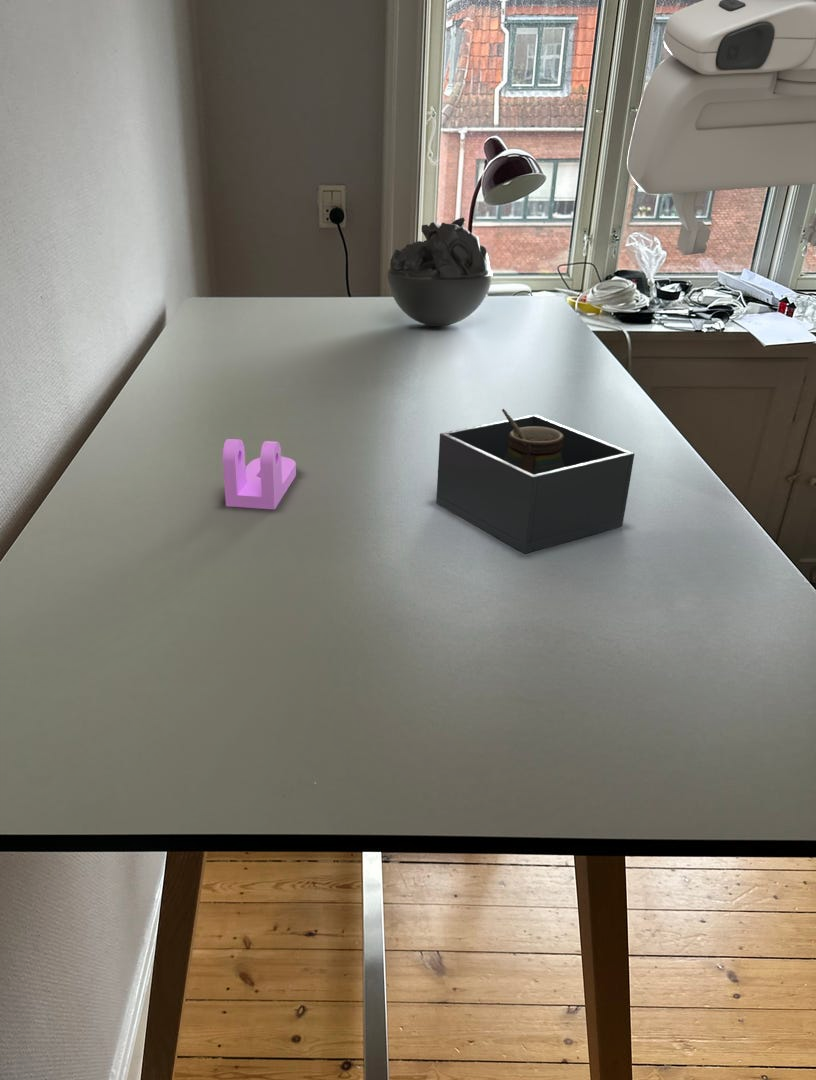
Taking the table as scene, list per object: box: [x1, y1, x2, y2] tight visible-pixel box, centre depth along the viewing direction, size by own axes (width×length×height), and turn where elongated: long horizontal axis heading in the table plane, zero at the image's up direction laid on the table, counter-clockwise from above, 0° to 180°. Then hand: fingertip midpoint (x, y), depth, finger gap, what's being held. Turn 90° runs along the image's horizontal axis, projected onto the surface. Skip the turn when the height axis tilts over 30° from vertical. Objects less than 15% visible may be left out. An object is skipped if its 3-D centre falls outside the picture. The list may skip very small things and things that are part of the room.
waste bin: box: [435, 414, 635, 554], centre depth 97 cm, size 13×15×8 cm
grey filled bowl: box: [387, 217, 494, 327], centre depth 175 cm, size 20×20×19 cm
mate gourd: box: [501, 408, 564, 474], centre depth 96 cm, size 7×8×10 cm
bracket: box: [222, 438, 297, 511], centre depth 105 cm, size 13×6×7 cm, turn 169°
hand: (754, 247), depth 66 cm, fingers open, 8 cm apart
